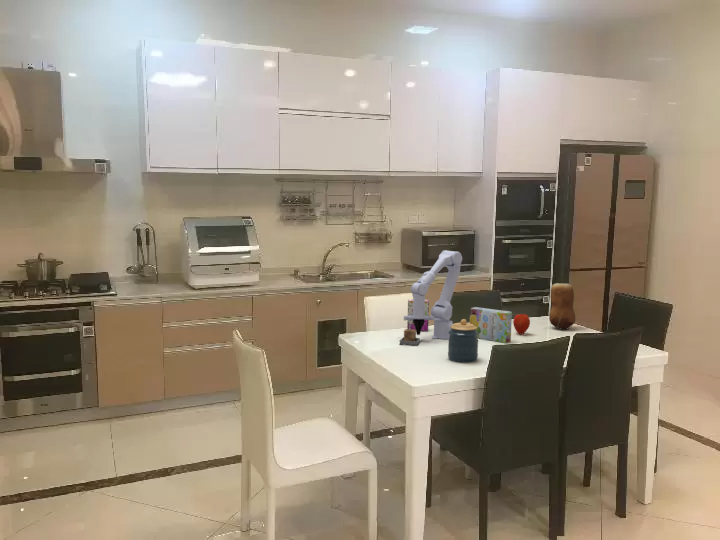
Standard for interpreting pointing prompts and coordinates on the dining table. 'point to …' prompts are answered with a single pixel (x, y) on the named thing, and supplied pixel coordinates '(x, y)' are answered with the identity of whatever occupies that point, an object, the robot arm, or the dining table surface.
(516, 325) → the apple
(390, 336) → the dining table surface
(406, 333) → the block
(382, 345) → the dining table surface
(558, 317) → the butternut squash
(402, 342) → the tray
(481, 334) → the snack box
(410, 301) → the candy bar box
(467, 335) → the canister
